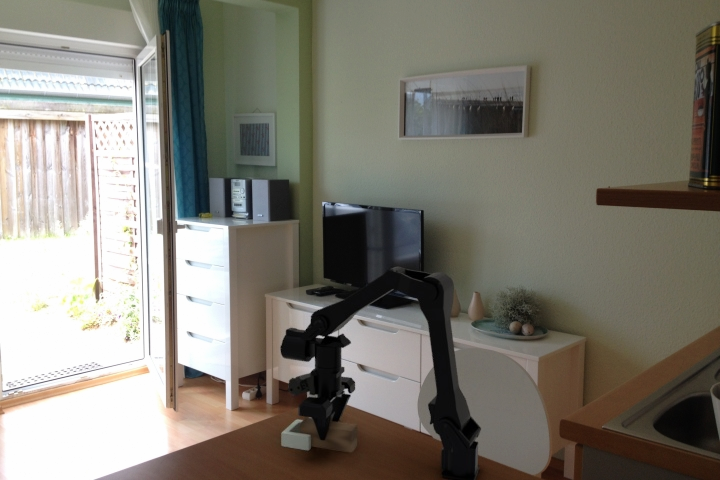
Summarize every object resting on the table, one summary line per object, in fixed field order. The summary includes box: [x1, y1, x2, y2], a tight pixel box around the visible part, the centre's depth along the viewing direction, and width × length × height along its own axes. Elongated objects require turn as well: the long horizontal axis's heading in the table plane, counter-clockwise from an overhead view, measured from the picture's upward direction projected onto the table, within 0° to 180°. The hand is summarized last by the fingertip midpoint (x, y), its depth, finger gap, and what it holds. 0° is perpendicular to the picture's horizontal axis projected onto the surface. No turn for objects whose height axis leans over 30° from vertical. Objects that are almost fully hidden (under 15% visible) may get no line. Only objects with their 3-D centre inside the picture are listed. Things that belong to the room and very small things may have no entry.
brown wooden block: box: [300, 417, 358, 453], centre depth 141 cm, size 12×4×5 cm, turn 71°
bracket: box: [280, 419, 312, 451], centre depth 143 cm, size 6×8×3 cm
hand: (328, 434), depth 141 cm, fingers open, 6 cm apart
